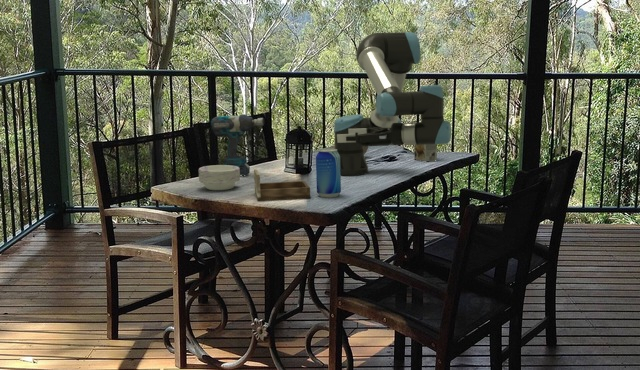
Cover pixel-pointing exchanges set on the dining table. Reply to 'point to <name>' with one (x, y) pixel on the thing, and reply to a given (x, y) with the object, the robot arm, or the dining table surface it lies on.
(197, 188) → the dining table surface
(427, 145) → the coffee box
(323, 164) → the beer can
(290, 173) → the dining table surface
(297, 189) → the open wooden box
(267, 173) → the dining table surface
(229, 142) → the cordless power drill
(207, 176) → the paper bowls
